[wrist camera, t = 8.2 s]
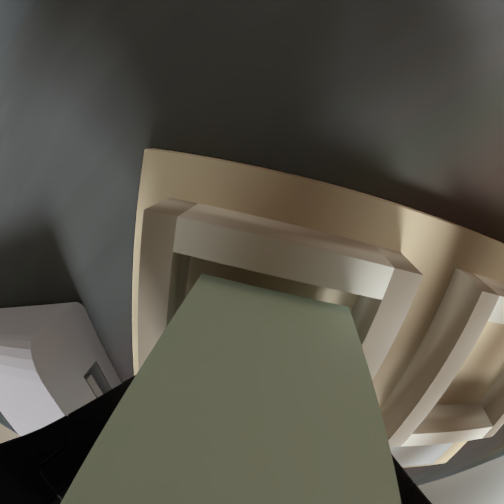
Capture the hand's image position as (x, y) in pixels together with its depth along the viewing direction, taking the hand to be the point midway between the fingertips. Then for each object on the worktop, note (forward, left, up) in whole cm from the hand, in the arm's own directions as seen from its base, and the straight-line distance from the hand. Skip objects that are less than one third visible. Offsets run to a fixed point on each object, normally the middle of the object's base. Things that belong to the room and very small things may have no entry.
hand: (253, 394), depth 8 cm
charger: (+14, +9, -5) cm, 17 cm away
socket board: (-5, +2, -4) cm, 7 cm away
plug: (0, 0, -2) cm, 2 cm away
